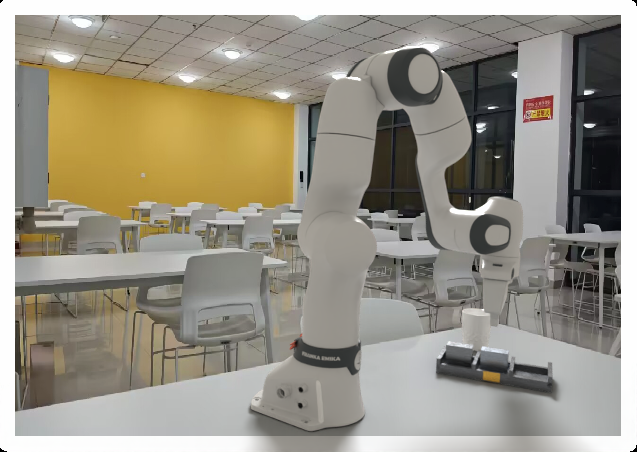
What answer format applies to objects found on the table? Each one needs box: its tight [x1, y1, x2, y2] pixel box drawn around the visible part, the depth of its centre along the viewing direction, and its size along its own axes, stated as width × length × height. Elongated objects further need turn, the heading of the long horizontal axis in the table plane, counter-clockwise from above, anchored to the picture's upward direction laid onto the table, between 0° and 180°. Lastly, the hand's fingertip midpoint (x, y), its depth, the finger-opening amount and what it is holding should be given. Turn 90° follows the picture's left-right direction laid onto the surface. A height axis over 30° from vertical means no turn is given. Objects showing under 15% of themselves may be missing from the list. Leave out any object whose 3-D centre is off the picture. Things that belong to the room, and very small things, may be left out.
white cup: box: [461, 307, 492, 352], centre depth 140 cm, size 8×8×10 cm
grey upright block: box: [480, 346, 510, 374], centre depth 120 cm, size 6×3×5 cm, turn 66°
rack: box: [435, 340, 554, 393], centre depth 120 cm, size 25×10×6 cm, turn 66°
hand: (494, 325), depth 120 cm, fingers closed
